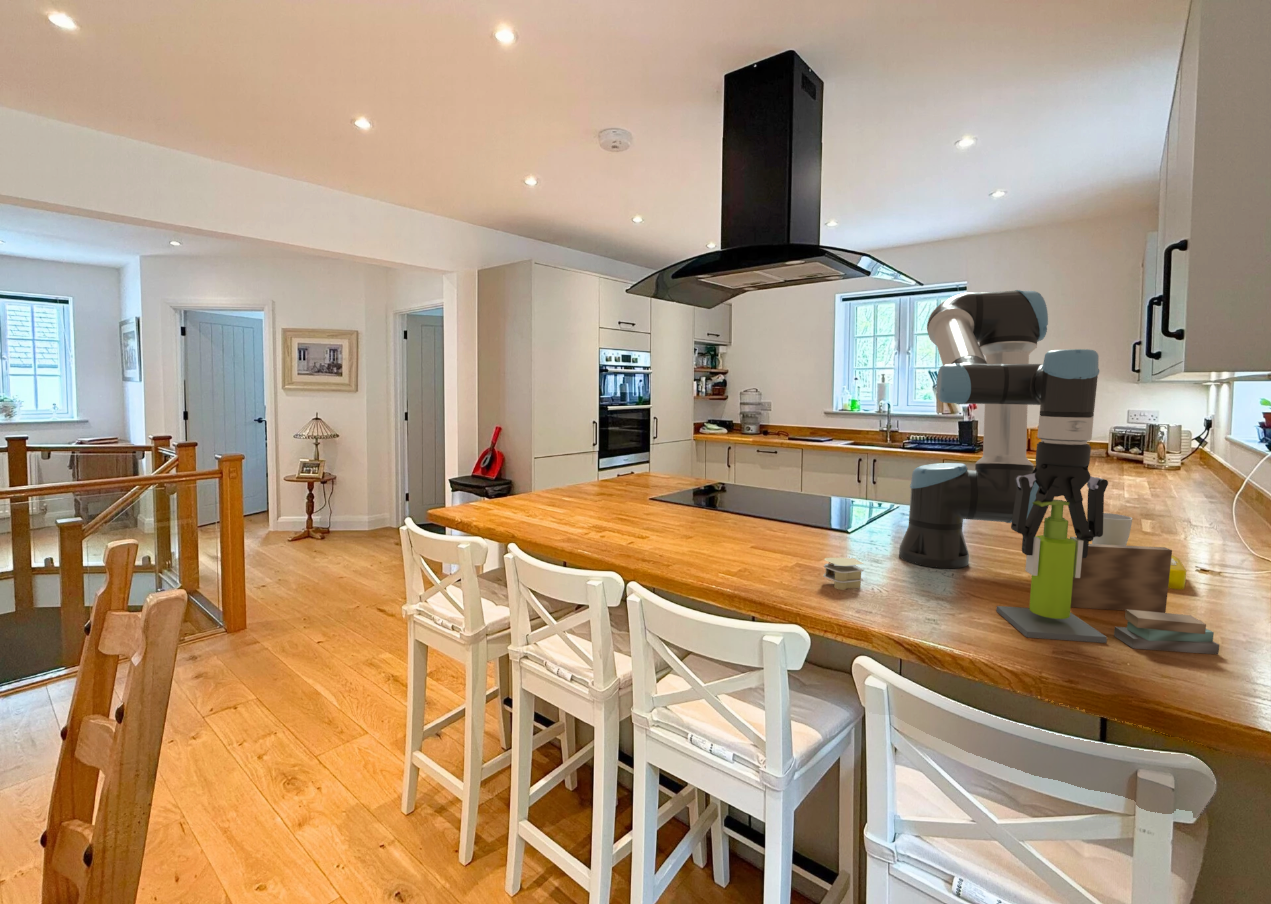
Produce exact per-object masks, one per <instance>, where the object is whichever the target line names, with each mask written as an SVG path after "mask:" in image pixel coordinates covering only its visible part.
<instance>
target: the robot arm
mask: <svg viewBox="0 0 1271 904" xmlns="http://www.w3.org/2000/svg"><path fill="white" fill-rule="evenodd" d="M1046 303H1047V302H1046V301H1045V298H1044V297H1043V295H1042V294H1041V293H1040V292H1038V291H1035V290H1021V289H1016V290H1006V291H979V292H973V291H972V292H964V293H960V294H956V295H953V296H951V297H949V298H947V299H946V300H944V301H943V302H941V303H940V304H939V305H937V306H936V307H935V308H934V309H933V311H932V312H931V313H930V315H929V316H928V320H927V324H926V325H927V326H926V329H927V330H926V331H927V335H928V337H929V340H930V341H931V342H932V343H933V345H935V346H936V347H937V350H938V354H939V357H940V360H941V361H940V362H941V363H942V366H940V367H939V369H938V372H937V377H936V379H937V380H936V396H937V399H938V401H939V402H941V403H946V404H956V405H984V412H983V413H984V416H983V420H984V421H983V446H982V451H983V452H982V457H980V458H979V459H978V460H977V461H976V462H975V464H974V465H975V468H974V469H975V470H973V469H972V470H971V469H968V467H967V465H966V464H965V463H962V462H941V463H939V462H937V463H930V464H923V465H920V466H918V467H915V468H914V469H913V471H912V473H911V481H910V485H909V488H910V497H909V498H910V499H909V511H908V512H909V514H908V526H907V529H906V531H905V534H904V535H903V538H902V540H901V542H900V545H899V549H898V556H899V558H900V559H901V560H904V561H906V562H908V563H912V564H914V565H919V566H924V567H928V568H929V567H930V568H938V569H961V568H965V567H967V566H968V565H969V562H970V561H969V560H970V553H969V550H968V547H967V544H966V540H965V536H964V533H963V527H964V526H963V525H964V524H963V523H964V520H971V521H972V520H973V521H985V522H998V523H999V522H1000V523H1006V524H1010V528H1011V530H1012V531H1014V532H1016V533H1018V534H1021V535H1022V542H1021V552H1022V554H1023V555H1026V558H1025V559H1026V561H1025V572H1027V573H1028V574H1029V575H1031V576H1032V575H1033V576H1037V574H1038V562H1039V551H1040V538H1038V537H1036V536H1037V533H1038V531H1039V529H1040V527H1041V525H1042V522H1043V519H1045V515H1046V514H1047V513H1046V512H1047V511H1048V508H1049V506H1050V505H1047V506H1043V507H1041V506H1037V505H1034V504H1033V503H1032V502H1035V501H1040V502H1052V501H1053V499H1054V498H1055V497H1064V500H1065V501H1067V502H1070V503H1069V505H1067V507H1068V512H1069V515H1070V519H1071V523H1072V526H1073V531H1074V534H1075V536H1070V537H1069V539H1071V540H1074V541H1075V542H1076V546H1075V559H1074V571H1073V577H1075V578H1080V574H1081V563H1082V558H1086V557H1087V555H1088V544H1090V543H1089V542H1092V540H1093V538H1094V537H1101V536H1102V535H1103V514H1104V513H1105V512H1104V509H1105V508H1104V507H1105V505H1104V503H1105V502H1104V501H1105V496H1104V495H1105V491H1106V490H1107V488H1108V486H1109V481H1108V480H1107V479H1105V478H1100V477H1094V476H1092V475H1091V474H1090V471H1089V466H1090V461H1091V452H1092V451H1091V450H1092V446H1090V444H1089V443H1087V442H1090V441H1092V440H1093V439H1092V438H1093V428H1094V427H1093V426H1094V417H1095V407H1096V398H1097V384H1098V379H1099V378H1098V376H1099V374H1100V369H1099V353H1098V352H1097V351H1096V350H1095V349H1090V348H1089V349H1088V348H1087V349H1085V348H1084V349H1081V348H1078V349H1077V348H1075V349H1071V348H1070V349H1054V350H1048V351H1046V353H1045V354H1044V358H1043V362H1042V363H1030V361H1029V360H1030V354H1031V353H1032V352H1033V351H1035V350H1036V349H1037V348H1038V342H1040V341H1043V340H1044V339H1045V337H1046V335H1047V333H1048V325H1049V316H1048V315H1049V314H1048V307H1047V304H1046ZM1029 405H1030V406H1032V405H1033V406H1034V405H1036V406H1039V417H1038V424H1037V425H1038V428H1037V429H1038V430H1037V438H1038V439H1039V440H1040V441H1039V442H1037V443H1036V450H1035V451H1036V453H1035V465H1034V463H1032V462H1031V461H1030V460H1029V459H1028V457H1027V439H1028V438H1027V437H1028V435H1027V434H1028V433H1027V432H1028V431H1027V430H1028V406H1029ZM1085 485H1086V486H1087V488H1088V490H1087V509H1086V510H1087V516H1086V513H1085V508H1084V503H1083V501H1084V498H1083V494H1082V491H1081V490H1082V489H1083V487H1085Z"/></svg>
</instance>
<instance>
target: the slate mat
mask: <svg viewBox="0 0 1271 904" xmlns="http://www.w3.org/2000/svg"><path fill="white" fill-rule="evenodd" d="M995 611H996V613H998V614H999V615H1000V616H1001V617H1002V618H1003V619H1005V621H1007V622H1008V623H1010V624H1011V626H1013V628H1015V629H1016V630H1017V631H1019V633H1020V634H1022V635H1023V636H1024V637H1026V638H1029V639H1031V638H1032V639H1043V640H1044V639H1046V640H1060V641H1061V640H1062V641H1076V642H1085V643H1086V642H1087V643H1103V644H1107V640H1108V636H1106V635H1104V633H1101V632H1100V631H1099V630H1098V629H1096V628H1094V627H1093V626H1091V625H1090V624H1089V623H1087V622H1085V621H1084V620H1082V619H1081V618H1079V617H1078V616H1077V615H1075V614H1074V613H1072V612H1071V611H1070V617H1069V618H1066V619H1054V618H1048V617H1043V616H1040V615H1037V614H1035V613H1033V612H1031V611H1030V610H1029V607H1019V606H1018V607H1017V606H1005V605H1004V606H1003V605H997V606H996V610H995Z"/></svg>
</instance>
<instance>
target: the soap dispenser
mask: <svg viewBox="0 0 1271 904" xmlns="http://www.w3.org/2000/svg"><path fill="white" fill-rule="evenodd" d="M1032 503H1033V504H1034V505H1037V506H1041V507H1043V506H1047V505H1049V506H1051V508H1050V515H1049V516H1047V517H1044V523H1043V533H1042V534H1043V535H1036V537H1038V538H1040V551H1039V562H1038V574H1037V576H1033V575H1031V581H1030V583H1031V584H1030V594H1029V595H1030V596H1029V606H1028V608H1029V610H1030V611H1031V612H1033V613H1035V614H1037V615H1040V616H1043V617H1048V618H1054V619H1066V618H1069V617H1070V612H1071V608H1072V607H1071V596H1072V584H1073V571H1074V559H1075V546H1076V542H1075V541H1074V540H1071V539H1070V537H1068V532H1069V531H1068V529H1069V520H1068V519H1067V518H1065V517H1064V506H1068V505H1069V503H1070V502H1067V501H1066V500H1062V499H1053V501H1052V502H1040V501H1035V502H1032Z"/></svg>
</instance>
